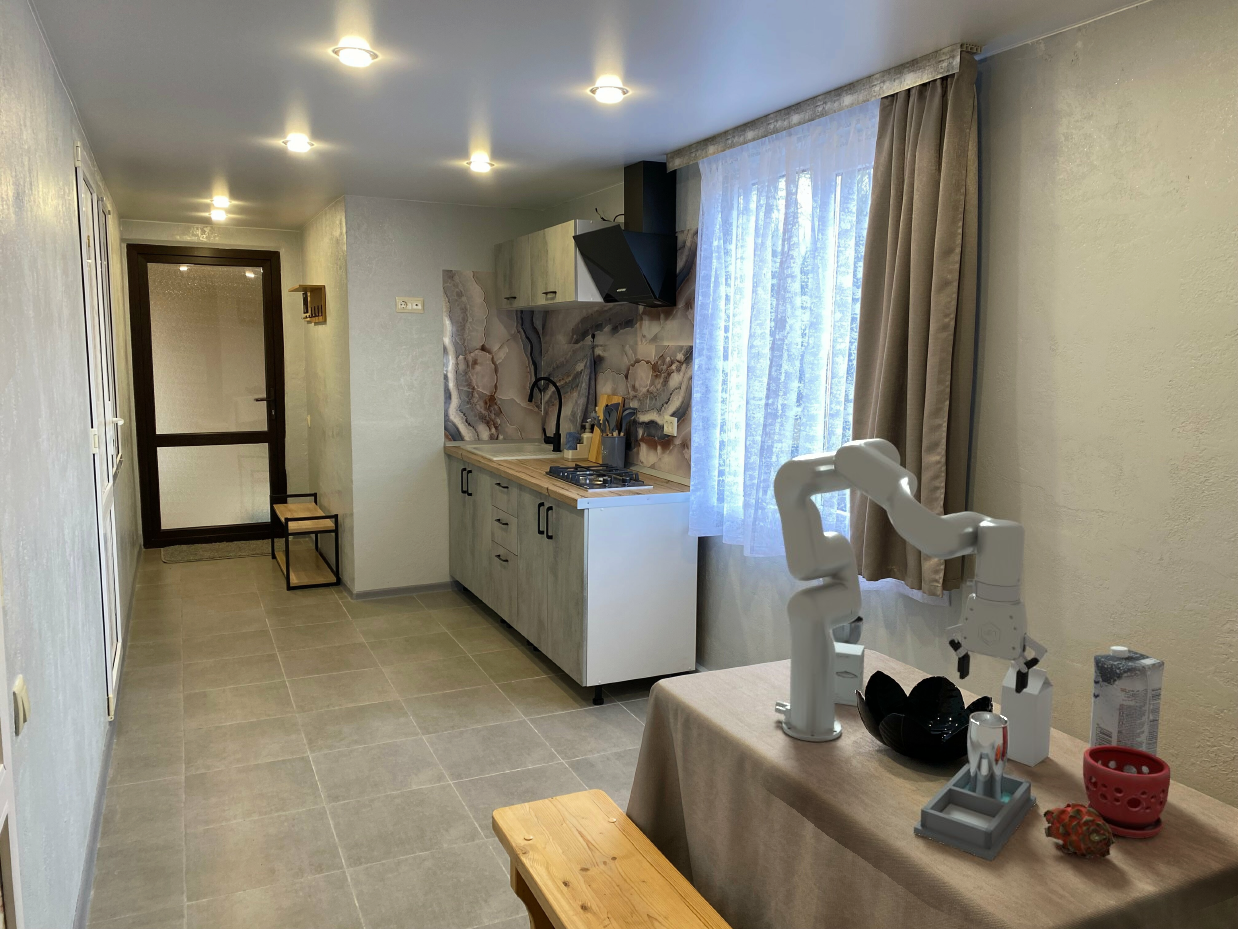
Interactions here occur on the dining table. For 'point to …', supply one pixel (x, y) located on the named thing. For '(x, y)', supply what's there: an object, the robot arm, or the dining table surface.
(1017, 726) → the milk carton
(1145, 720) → the juice carton
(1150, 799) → the plant pot
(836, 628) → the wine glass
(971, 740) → the silver metal cup
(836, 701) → the supplement box
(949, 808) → the gray divided sorting tray
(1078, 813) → the dragon fruit
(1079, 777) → the dining table surface
